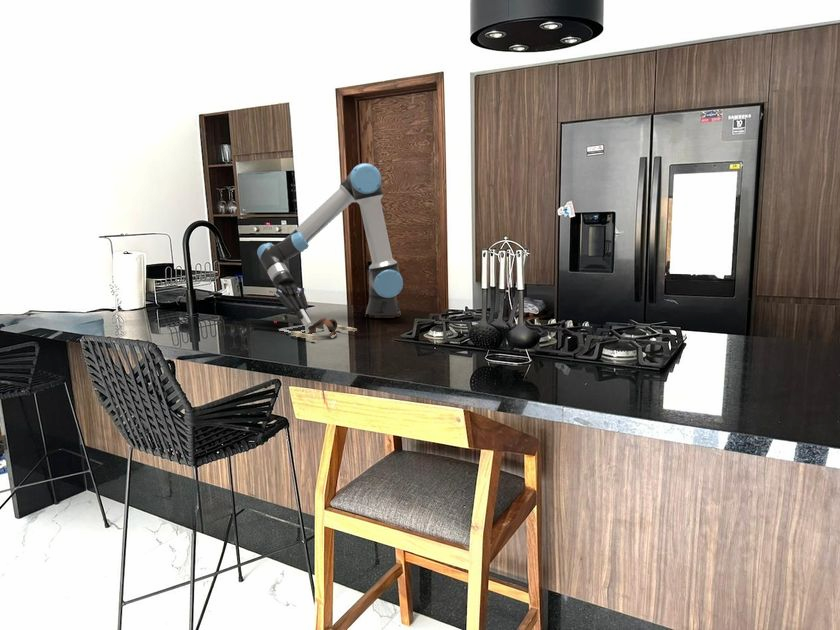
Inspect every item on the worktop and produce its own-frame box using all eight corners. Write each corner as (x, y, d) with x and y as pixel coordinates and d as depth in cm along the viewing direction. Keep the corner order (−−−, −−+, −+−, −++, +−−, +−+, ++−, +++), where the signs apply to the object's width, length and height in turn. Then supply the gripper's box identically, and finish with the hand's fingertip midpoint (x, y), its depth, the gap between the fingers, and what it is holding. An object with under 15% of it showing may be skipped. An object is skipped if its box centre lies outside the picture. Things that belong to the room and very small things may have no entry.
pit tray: (278, 332, 234) (278, 328, 234) (308, 327, 244) (308, 324, 244) (293, 336, 228) (293, 332, 227) (324, 331, 238) (324, 327, 237)
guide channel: (291, 337, 224) (290, 331, 224) (333, 330, 238) (332, 324, 238) (314, 343, 215) (314, 336, 214) (357, 335, 229) (356, 328, 228)
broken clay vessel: (329, 342, 219) (316, 322, 218) (312, 351, 224) (300, 331, 223) (348, 328, 228) (336, 309, 227) (331, 337, 234) (320, 318, 233)
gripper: (291, 282, 247) (318, 328, 239) (263, 285, 238) (289, 333, 229) (298, 269, 243) (326, 316, 234) (270, 272, 234) (297, 320, 225)
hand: (308, 324), depth 232 cm, fingers closed
